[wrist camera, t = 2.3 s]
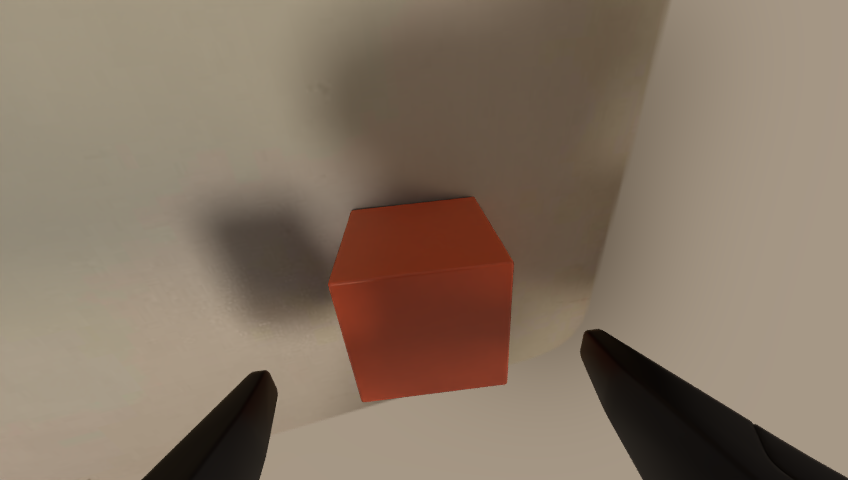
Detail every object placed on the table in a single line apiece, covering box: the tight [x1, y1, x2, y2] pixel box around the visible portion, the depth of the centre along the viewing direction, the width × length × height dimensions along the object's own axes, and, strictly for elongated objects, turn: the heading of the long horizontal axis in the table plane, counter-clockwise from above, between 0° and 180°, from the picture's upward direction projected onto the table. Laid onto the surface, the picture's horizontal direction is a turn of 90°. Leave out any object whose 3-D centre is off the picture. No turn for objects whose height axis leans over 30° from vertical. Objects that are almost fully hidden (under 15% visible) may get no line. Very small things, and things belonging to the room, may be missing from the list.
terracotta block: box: [328, 197, 514, 402], centre depth 12 cm, size 5×5×5 cm
